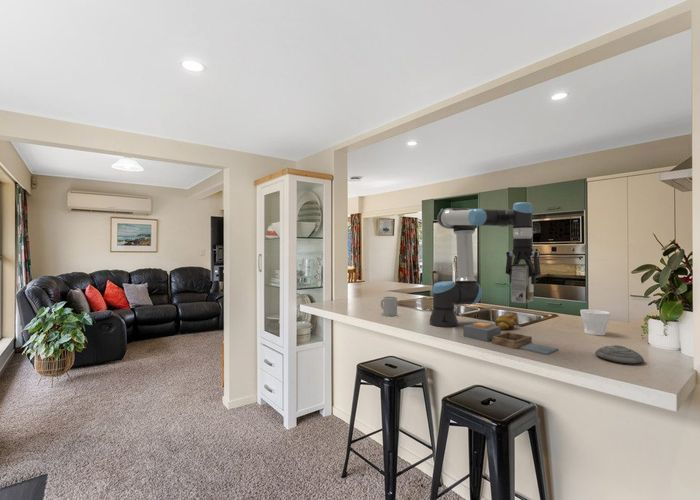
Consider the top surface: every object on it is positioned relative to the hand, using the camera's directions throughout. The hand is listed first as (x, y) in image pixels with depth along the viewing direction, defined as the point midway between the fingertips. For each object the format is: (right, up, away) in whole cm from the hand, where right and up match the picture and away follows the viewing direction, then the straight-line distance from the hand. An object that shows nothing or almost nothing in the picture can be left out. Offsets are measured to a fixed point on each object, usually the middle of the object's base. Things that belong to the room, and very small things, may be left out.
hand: (522, 291), depth 155 cm
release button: (-12, -22, +15) cm, 30 cm away
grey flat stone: (+29, -25, -17) cm, 42 cm away
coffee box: (0, -5, 0) cm, 5 cm away
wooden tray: (-3, -24, +4) cm, 24 cm away
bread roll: (+7, -24, +34) cm, 42 cm away
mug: (-51, -23, +69) cm, 88 cm away
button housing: (-12, -24, +15) cm, 30 cm away
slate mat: (+4, -24, -5) cm, 25 cm away
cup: (+47, -24, +23) cm, 58 cm away
